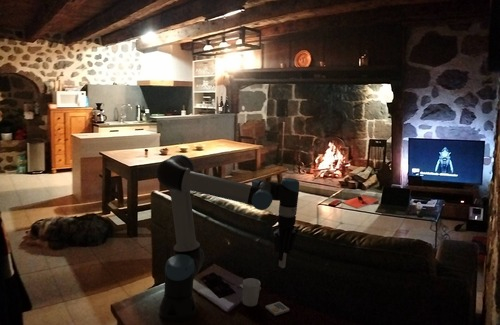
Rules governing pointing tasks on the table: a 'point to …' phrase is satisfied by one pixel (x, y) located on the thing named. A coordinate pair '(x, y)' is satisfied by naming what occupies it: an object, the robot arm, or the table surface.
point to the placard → (277, 308)
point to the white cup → (251, 291)
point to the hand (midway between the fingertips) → (281, 266)
